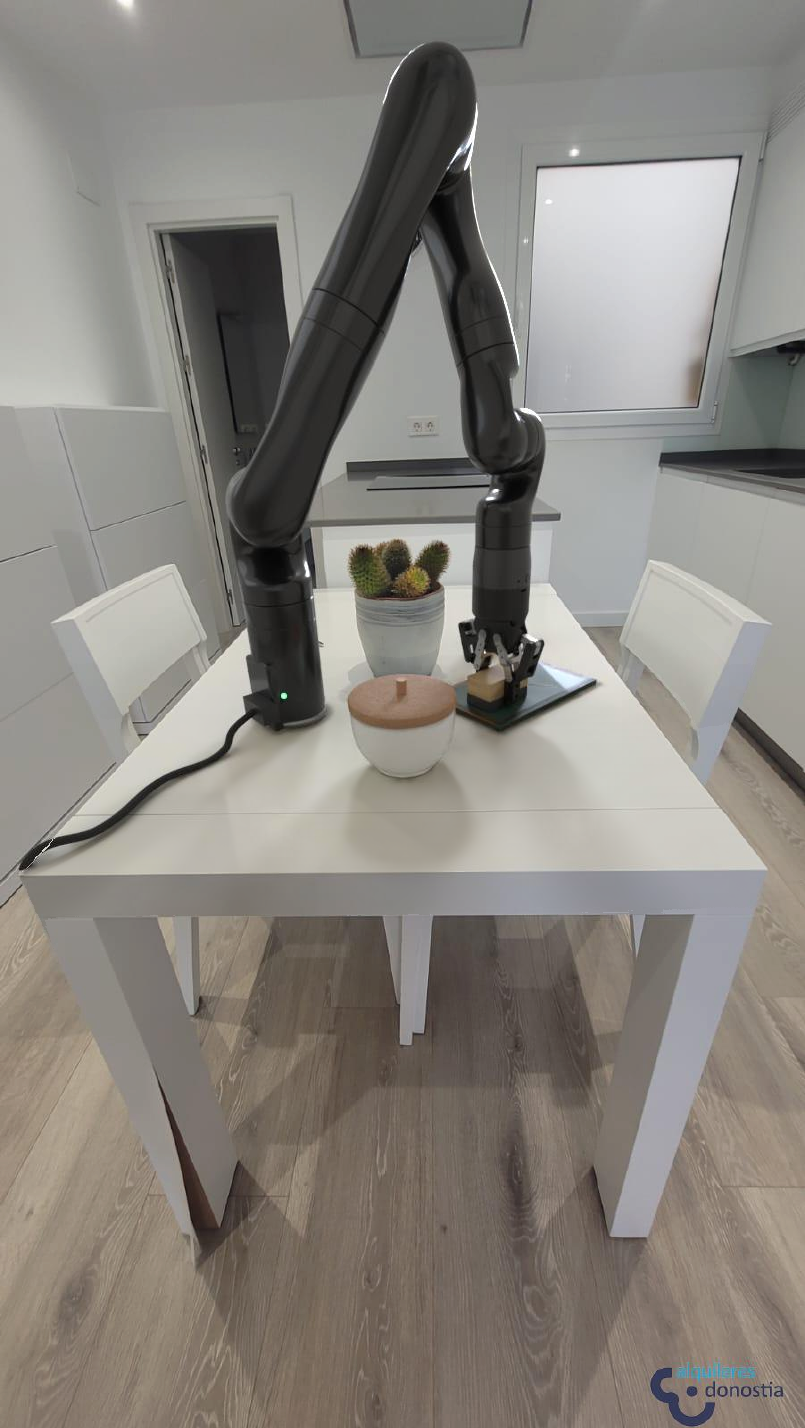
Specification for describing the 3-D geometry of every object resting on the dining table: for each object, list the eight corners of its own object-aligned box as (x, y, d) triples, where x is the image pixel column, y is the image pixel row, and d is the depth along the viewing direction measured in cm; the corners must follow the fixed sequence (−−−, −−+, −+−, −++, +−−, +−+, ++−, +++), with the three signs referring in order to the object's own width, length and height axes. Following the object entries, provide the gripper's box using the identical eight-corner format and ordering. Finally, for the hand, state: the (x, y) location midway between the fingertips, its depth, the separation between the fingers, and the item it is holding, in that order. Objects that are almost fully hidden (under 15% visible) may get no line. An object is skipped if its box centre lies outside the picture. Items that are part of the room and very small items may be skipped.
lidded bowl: (341, 749, 76) (333, 669, 71) (431, 729, 80) (430, 652, 75) (371, 801, 65) (364, 712, 60) (474, 776, 69) (476, 689, 64)
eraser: (489, 712, 82) (490, 684, 80) (466, 702, 85) (466, 675, 83) (527, 695, 86) (528, 668, 84) (503, 686, 89) (505, 660, 87)
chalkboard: (500, 732, 78) (500, 726, 78) (428, 700, 88) (428, 695, 88) (596, 684, 91) (596, 679, 90) (524, 660, 100) (524, 656, 100)
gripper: (442, 576, 80) (443, 691, 88) (525, 595, 71) (518, 723, 78) (480, 566, 85) (478, 676, 92) (564, 583, 75) (553, 705, 82)
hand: (496, 697), depth 85 cm, fingers closed on eraser, 4 cm apart
